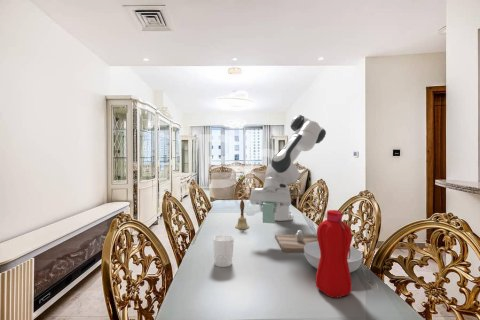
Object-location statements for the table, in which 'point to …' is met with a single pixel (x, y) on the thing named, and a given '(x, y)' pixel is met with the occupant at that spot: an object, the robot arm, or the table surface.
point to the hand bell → (242, 218)
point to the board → (294, 242)
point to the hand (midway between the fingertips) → (268, 211)
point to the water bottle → (334, 255)
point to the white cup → (223, 250)
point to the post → (299, 236)
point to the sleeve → (268, 212)
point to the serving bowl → (314, 256)
